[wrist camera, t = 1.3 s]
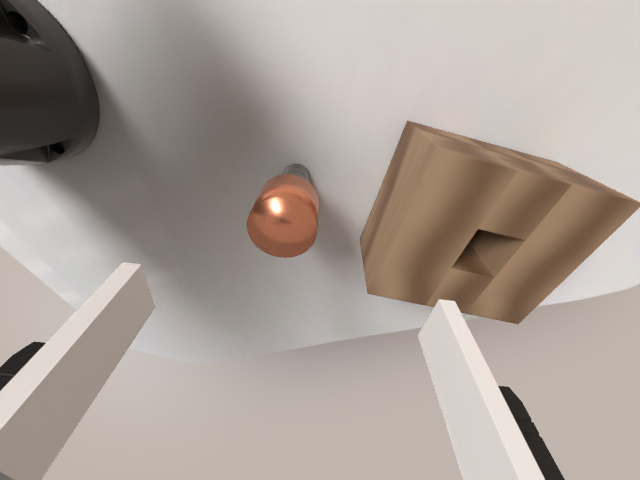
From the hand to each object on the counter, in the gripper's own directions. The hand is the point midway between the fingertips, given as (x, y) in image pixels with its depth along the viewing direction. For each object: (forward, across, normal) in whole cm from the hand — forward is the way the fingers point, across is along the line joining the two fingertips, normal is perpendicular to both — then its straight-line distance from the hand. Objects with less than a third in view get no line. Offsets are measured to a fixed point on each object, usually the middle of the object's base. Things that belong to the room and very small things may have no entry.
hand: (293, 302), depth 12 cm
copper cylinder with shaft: (+19, -1, -2) cm, 19 cm away
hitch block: (+18, +16, -2) cm, 24 cm away
